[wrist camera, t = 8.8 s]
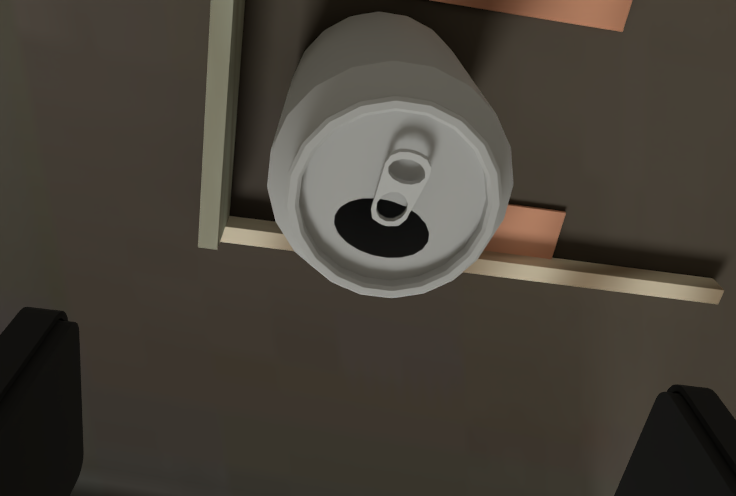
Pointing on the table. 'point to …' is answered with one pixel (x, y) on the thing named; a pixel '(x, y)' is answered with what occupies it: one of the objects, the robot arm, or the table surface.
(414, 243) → the can
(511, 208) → the tan bent flat bar
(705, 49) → the table surface
